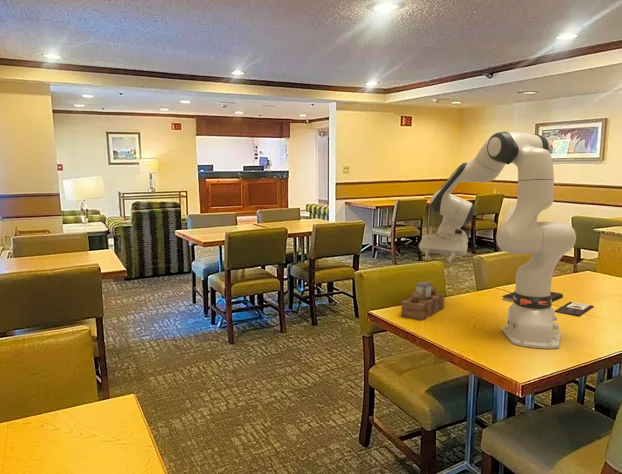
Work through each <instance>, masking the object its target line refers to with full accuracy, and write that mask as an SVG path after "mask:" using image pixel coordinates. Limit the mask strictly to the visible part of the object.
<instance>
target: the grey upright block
mask: <svg viewBox="0 0 622 474" xmlns="http://www.w3.org/2000/svg"><path fill="white" fill-rule="evenodd" d="M432 283H433V282H430V281H429V282H428V281H420V282H418V283H416V284H415V285H416V290H415V291H418V292H419V300H425V301H427V300H429V299H431V286H433V284H432Z"/></svg>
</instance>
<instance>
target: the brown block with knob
mask: <svg viewBox="0 0 622 474" xmlns="http://www.w3.org/2000/svg"><path fill="white" fill-rule="evenodd" d="M436 287H437V286H434V285H431V299H429V300H427V301H425V300H419V292H418V291H416V290H415V291H411V297H408V298H406V299H404V300H402V301H401V317H402V318H408V319H413V320H417V321H425V320H427V319H428V318H430V317H431V316H433V315H436V314H438V312H441V311H443V310H444V309H445V294H444V293H438V292H437V288H436Z"/></svg>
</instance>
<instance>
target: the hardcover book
mask: <svg viewBox="0 0 622 474" xmlns="http://www.w3.org/2000/svg"><path fill="white" fill-rule="evenodd" d="M550 294H551V295H552V303H553V302H556V301H559V300H561V299H563V298H564V295H563V293H560V292H554V291H551V292H550ZM513 295H514V291H512V292H510V293H508V294H504V295H502V296H501V297H502V300H503V301H507V302H510V303H514V301H513Z"/></svg>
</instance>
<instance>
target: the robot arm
mask: <svg viewBox="0 0 622 474" xmlns="http://www.w3.org/2000/svg"><path fill="white" fill-rule="evenodd" d="M510 164H513V165H515V166H516V167H517V173H518V174H517V199H516V205H515V208H514V210H513V212H512V214H511V215H510V217H509V218H508V220H507V221H506V222H505V223H503V224H502V225H500V226H499V227H498V229H497V232H496V234H495V241H496V245H497V246H498V248H499V249H500V250H501V251H502V252H503V253H509V254H512V255H513V254H515V255H532V256H531V257H530V259H529V260H528V261H527V262H526V263H524V264H522V265H521V266H519V267H518V268H517V270H516V273H515V288H514V291H513V292H514V295H513V301H514V302H512V304H511V305H510V306H508V311H507V324H506V325H503V326H501V331H502V332H503V334H504V335H505V336H506V338H507V339H508V340H509V341H510V342H511V344H512V345H517V346H521V347H525V348H534V349H546V350H547V349H551V350H553V349H559V348H560V343H561V336H562V333H561V332H562V331H560V330H559V326H560V325H559V322H556V321H558V317H557V316H556V312H555V310H556V309H554V308H552V303H553V302H552V295H551V294H550V292H552V291H551V290H552V289H551V288H552V281H553V280H552V279H553V275H554V270H555V268H556V266H557V264H558V263H559V262H560V260H561V258H562V257H564V255H565V254H567V253H569V252H570V251H571V250H572V249H573V248H574V247H575V244H576V242H577V232H576V231H575V229H574V227H572V225H570V224H569V223H564V222H559V221H538V217H539V214H540V213H542V212H543V211H545V210H547V209H549V208H550V207H551V206H552V205H553V203H554V201H555V197H554V196H555V195H554V193H555V174H554V164H553V159H552V155H551V153H550V144H549V141H548V139H547V138H546V137H545V136H543V135H541V134H539V133H528V132H522V131H500V132H496V133H494V134H493V135H491V136H490V137H489V138H488V139H487V140H486V141H485V142H484V143H483V145H482V147H481V148H480V149H479V151H478V152H477V154H476V155H475V157H474V158H473V159H471V160H470V161H469V162H468V161H467V162H463V163H462V164H460V165H459V166H458V167H457V168H456V169H455V170H454V171H453V172H452V174H451V175H450V176H449V177H448V178H447V179H446V181H445V182H444V183H443V184H442V185H441V187H440V188H439V189H438V190H437V191H436V192H435V193H434V194H433V195H432V196H431V198H430V200H429V204H428V205H429V207H430V210H431V211H432V212H433V213H435V214H438V215H441V216H443V217H442V221H441V223H440V224H439V226H438V230H437V232H436V233H431V232H428V233H426V234H424V235H423V236H422V239H421V240H420V242H419V243H418V248H419V250H420V252H423V253H425V255H424V256H425V257H424V260H425V261H430V260H431V256H430V253H431V254H437V255H439V254H440V255H448V256H447V257H446V261H445V262H446V264H447V263H448V264H451V263H452V261H453V260H454V259H455V258H456V257H457V256H459V257H464V256H466V255H467V253H468V247H469V245H468V243H469V237H468V234H467V233H466V231H465V230H463V229H461V228H462V227H464V226H467V225H468V224H470V223H471V221H472V219H473V216H474V213H475V211H476V209H475V206H474V203H473V202H470V201H469V200H466V199H464V198H462V197H459V196H457V195H454V194H452V193H451V192H453V190H454V189H455V188H456V187H457V186H458V185H459V184H460V183H465V182H466V183H467V182H473V183H478V184H479V183H481V184H482V183H489V182H491V181H493V180H495V179H497V177H499V175H500V173H501V172H502V171H503V169H504V167H505V166H506V165H510ZM449 255H450V256H449Z"/></svg>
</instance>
